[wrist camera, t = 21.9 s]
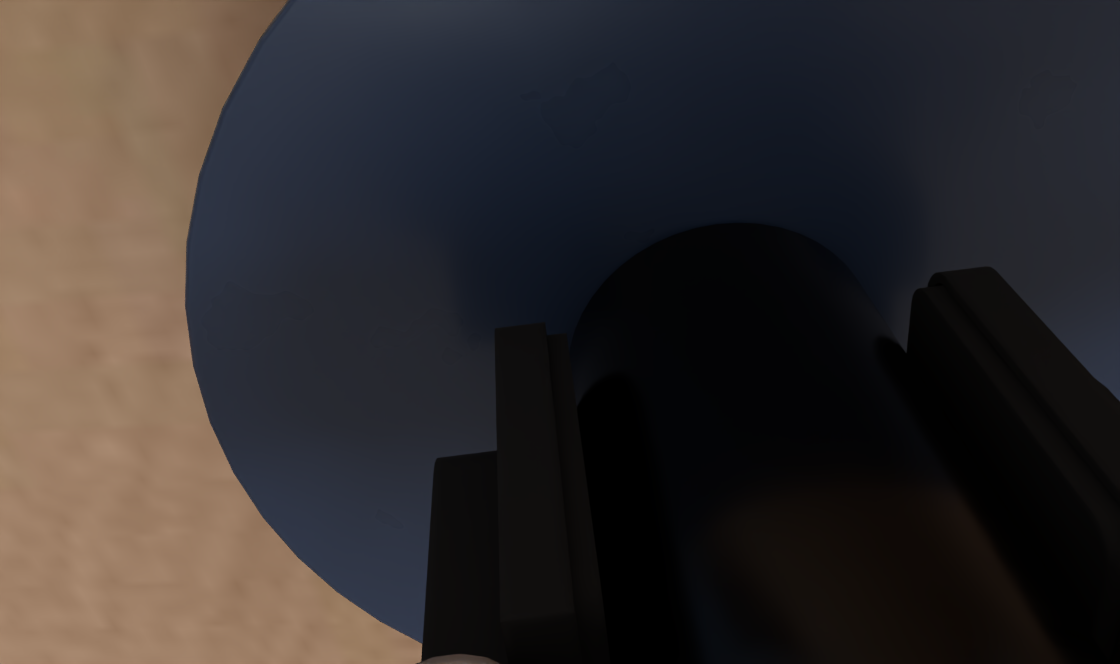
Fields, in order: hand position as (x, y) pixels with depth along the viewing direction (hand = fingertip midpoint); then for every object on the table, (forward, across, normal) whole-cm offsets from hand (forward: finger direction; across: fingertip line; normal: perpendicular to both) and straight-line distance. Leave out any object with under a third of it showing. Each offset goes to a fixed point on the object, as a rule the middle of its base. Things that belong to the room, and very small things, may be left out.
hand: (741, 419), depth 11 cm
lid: (+2, 0, 0) cm, 2 cm away
